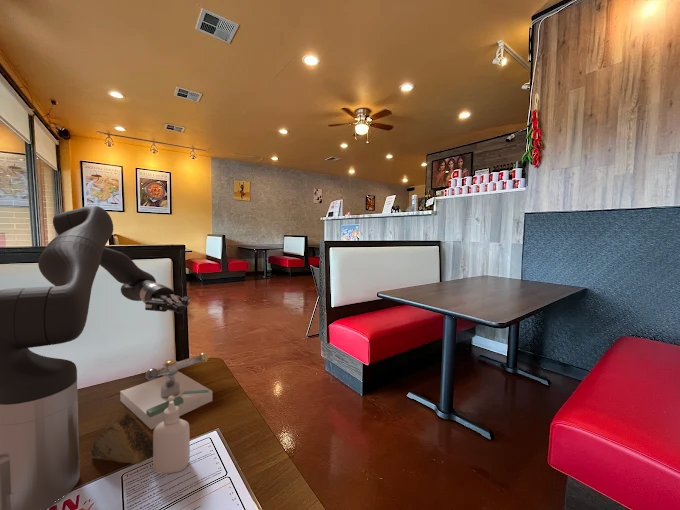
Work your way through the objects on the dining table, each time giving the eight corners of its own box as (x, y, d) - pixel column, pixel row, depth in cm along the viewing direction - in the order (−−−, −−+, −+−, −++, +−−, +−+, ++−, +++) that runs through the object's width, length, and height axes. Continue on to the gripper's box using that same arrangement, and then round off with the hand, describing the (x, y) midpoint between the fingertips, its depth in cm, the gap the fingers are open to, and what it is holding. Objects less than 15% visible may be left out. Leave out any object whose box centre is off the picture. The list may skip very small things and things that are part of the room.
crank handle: (149, 396, 66) (148, 370, 65) (143, 391, 68) (143, 366, 67) (211, 372, 78) (211, 350, 78) (204, 369, 80) (204, 348, 80)
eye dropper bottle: (172, 453, 55) (172, 392, 54) (193, 463, 53) (193, 399, 52) (149, 470, 51) (148, 404, 50) (171, 481, 49) (170, 412, 48)
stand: (151, 429, 62) (150, 407, 61) (120, 400, 72) (120, 381, 72) (212, 400, 73) (212, 382, 73) (178, 379, 83) (178, 363, 83)
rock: (68, 454, 51) (90, 470, 46) (100, 402, 56) (124, 412, 51) (126, 459, 58) (151, 474, 53) (151, 413, 63) (176, 423, 58)
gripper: (133, 286, 86) (156, 300, 76) (179, 282, 97) (205, 294, 86) (132, 311, 87) (155, 327, 76) (178, 304, 97) (204, 318, 87)
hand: (181, 309), depth 81 cm, fingers closed
